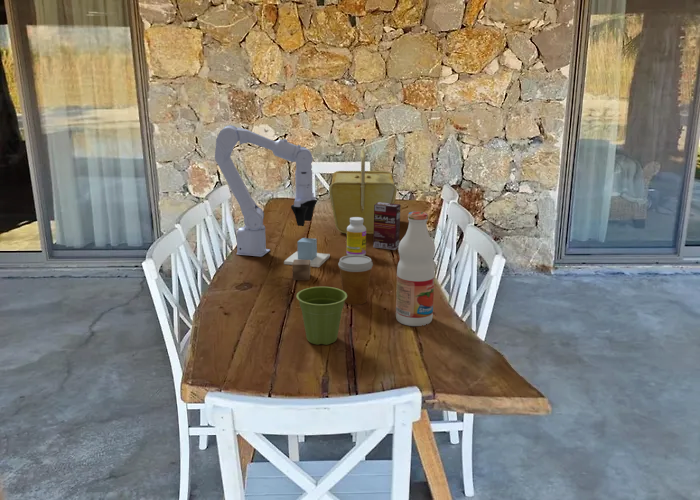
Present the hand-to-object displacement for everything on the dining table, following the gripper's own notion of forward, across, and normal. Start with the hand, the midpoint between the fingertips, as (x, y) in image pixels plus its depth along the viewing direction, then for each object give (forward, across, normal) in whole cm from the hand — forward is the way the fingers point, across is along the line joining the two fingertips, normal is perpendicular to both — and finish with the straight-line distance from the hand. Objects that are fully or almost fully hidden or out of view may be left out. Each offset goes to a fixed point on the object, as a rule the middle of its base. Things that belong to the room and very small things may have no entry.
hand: (304, 223), depth 217 cm
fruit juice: (+11, -50, -47) cm, 69 cm away
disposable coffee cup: (+11, -41, -29) cm, 51 cm away
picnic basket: (+11, +42, -10) cm, 44 cm away
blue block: (+9, -9, -4) cm, 14 cm away
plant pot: (+11, -68, -28) cm, 74 cm away
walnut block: (+10, -26, -8) cm, 29 cm away
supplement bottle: (+11, +2, -18) cm, 21 cm away
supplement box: (+11, +14, -26) cm, 31 cm away
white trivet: (+10, -9, -4) cm, 14 cm away
